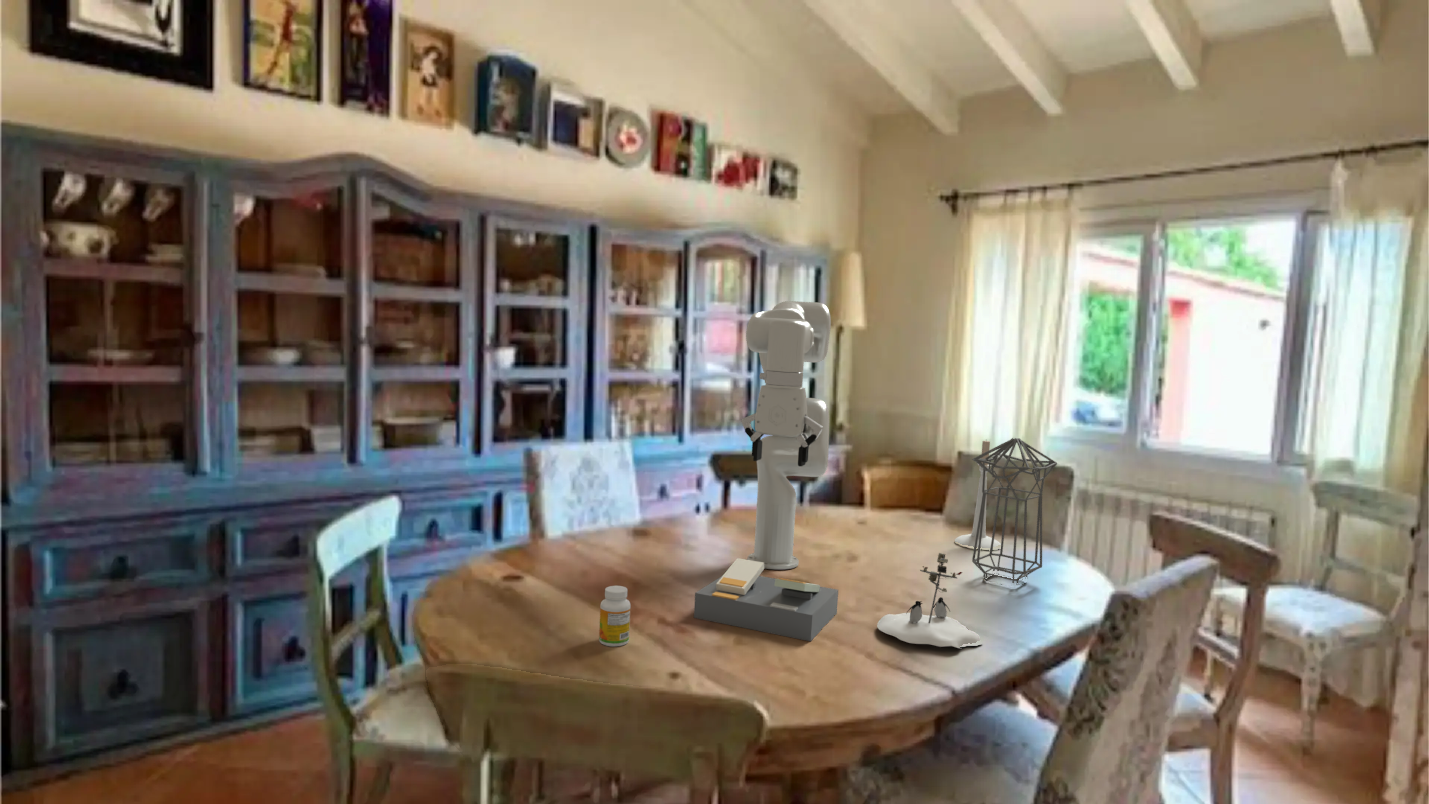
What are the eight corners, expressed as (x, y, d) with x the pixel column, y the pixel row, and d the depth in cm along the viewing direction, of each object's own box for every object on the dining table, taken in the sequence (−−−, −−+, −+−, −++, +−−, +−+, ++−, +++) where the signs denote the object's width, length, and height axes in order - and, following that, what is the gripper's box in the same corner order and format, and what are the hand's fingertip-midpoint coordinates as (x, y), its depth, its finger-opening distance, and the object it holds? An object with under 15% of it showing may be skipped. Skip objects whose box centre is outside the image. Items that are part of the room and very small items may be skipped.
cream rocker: (737, 564, 178) (737, 557, 178) (764, 568, 176) (764, 561, 176) (716, 589, 169) (716, 582, 168) (744, 595, 167) (744, 587, 166)
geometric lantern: (1049, 584, 203) (1062, 440, 200) (1022, 597, 192) (1035, 444, 189) (987, 569, 214) (999, 432, 211) (958, 580, 203) (969, 435, 200)
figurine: (914, 655, 152) (927, 565, 151) (858, 622, 168) (869, 541, 168) (1001, 653, 160) (1013, 568, 159) (939, 622, 176) (950, 545, 176)
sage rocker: (790, 587, 174) (791, 579, 174) (819, 592, 172) (820, 584, 172) (774, 585, 164) (775, 577, 164) (804, 591, 162) (805, 582, 162)
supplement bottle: (599, 635, 155) (601, 583, 154) (629, 636, 156) (631, 584, 155) (598, 647, 150) (600, 593, 149) (628, 647, 150) (631, 594, 149)
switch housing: (729, 593, 184) (730, 565, 183) (836, 613, 174) (838, 584, 174) (693, 617, 167) (695, 587, 167) (810, 641, 158) (812, 609, 157)
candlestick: (1006, 544, 241) (1015, 440, 238) (995, 553, 230) (1004, 444, 228) (961, 536, 248) (969, 435, 245) (948, 545, 237) (956, 438, 234)
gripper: (738, 377, 173) (733, 460, 175) (819, 384, 167) (814, 470, 168) (751, 376, 180) (746, 455, 182) (830, 382, 174) (824, 465, 175)
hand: (779, 462), depth 175 cm, fingers open, 9 cm apart
